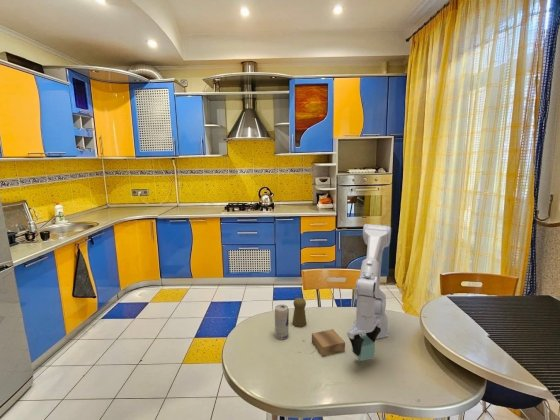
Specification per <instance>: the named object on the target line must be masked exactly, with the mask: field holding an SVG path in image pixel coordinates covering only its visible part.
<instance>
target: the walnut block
mask: <svg viewBox="0 0 560 420" xmlns="http://www.w3.org/2000/svg"><path fill="white" fill-rule="evenodd" d="M311 343H312V345H313V346H314V347H315V349H316V350H317V351H318V353H319V354H320V356H321V357H323V358H324V357H327V356H331V355H332V356H333V355H336V354H340V353H344V352H346V342H345V341H344V340H343V339H342V337H341V336H340V335H339V334H338V333H337V332H336V331H335V330H334V328H331V329H327V330H322V331H317V332H313V333H311Z"/></svg>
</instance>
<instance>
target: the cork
mask: <svg viewBox="0 0 560 420" xmlns="http://www.w3.org/2000/svg"><path fill="white" fill-rule="evenodd" d="M306 306H307V301H306V300H305V299H304V298H303V297H297V298H294V300H293V307H294V308H293V309H294V310H293V316H292V323H291V324H292V326H293V327H295V328H299V329H302V328H304V327H307V324H308V323H307V317H306V308H305V307H306Z"/></svg>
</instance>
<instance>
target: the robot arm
mask: <svg viewBox="0 0 560 420" xmlns="http://www.w3.org/2000/svg"><path fill="white" fill-rule="evenodd" d="M362 228H363V229H362V238H363V242H364V244H365V245H366V246H367V248H366V258H365V259H363V260H362V261H361V266H360V272H359V277H358V278H357V279H356V282H355V300H356V313H355V314H356V315H355V320H353V326H352V327H351V328H350V329H349V330H348V331H347V333H346V334H347V335H346V336H347V337H348V339H349V341H350V344H351V348H353V352H354V353H353V352H352V353H353V354H354V355H355V354H356V355H357V356H359V355H360V352H361V346H362V343H363V341H364V339H362V338H361V337H360V336H363V335H366V336H368V337H369V338H370V339H371V340H372V341H373V342H374V343H375V342H376V340H377V339H378V340H379V339H383V338H388V337H389V334H387V333H388V316H387V314H386V308H387V307H386V306H387V300H386V299H387V296H386V294H385V293H384V292H383V291H382V290H381V289H380V283H381V274H382V273H381V272H382V271H381V270H382V261H383V260H382V259H383V251H384V250H385V248H387V247H388V248H389V246H390V244H391V235H392V227H391V226H390V225H381V224H380V225H379V224H368V223H365V224H364V225H363V227H362ZM375 344H376V343H375ZM356 355H355V356H356ZM357 356H356V357H357Z"/></svg>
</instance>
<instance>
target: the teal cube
mask: <svg viewBox="0 0 560 420" xmlns="http://www.w3.org/2000/svg"><path fill="white" fill-rule="evenodd" d="M359 336H360V337H361V338H362V339H364V341H363V343H362V346H361V352H360V355H359V356H357V355H356V354H354V352H353V348H352V347H351V348H352V349H351V351H352V353H353V354H354V356H356V357H357V358H358V359H359V361H360V362H362V361H366V360H367V361H368V360H370V359H374V358H375V352H376V351H375V350H376V343H374V342H373V341H372V340H371V339H370V338H369V337H368V336H366V335H363V336H362V335H359Z"/></svg>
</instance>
